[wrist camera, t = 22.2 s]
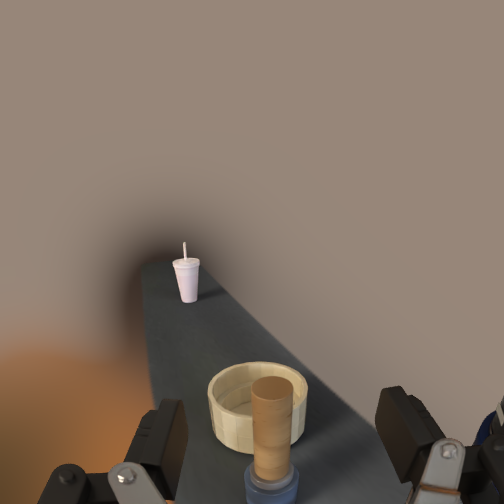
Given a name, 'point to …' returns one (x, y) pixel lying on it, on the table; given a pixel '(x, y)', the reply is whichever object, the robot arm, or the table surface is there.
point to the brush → (271, 444)
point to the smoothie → (187, 277)
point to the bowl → (239, 402)
